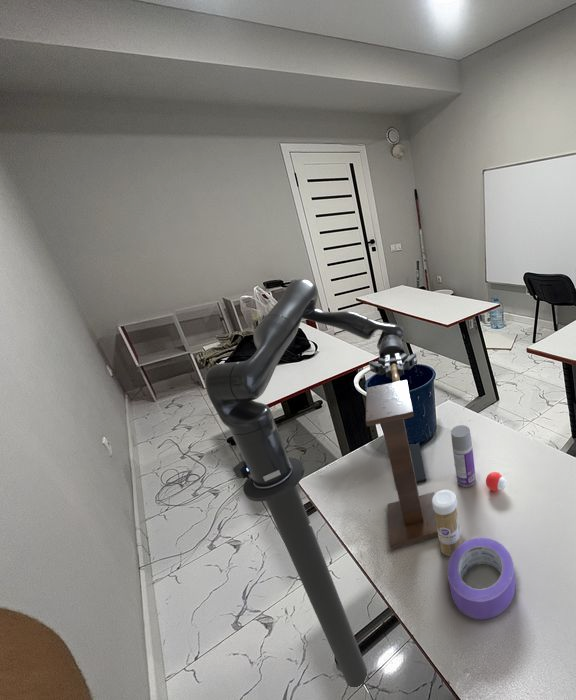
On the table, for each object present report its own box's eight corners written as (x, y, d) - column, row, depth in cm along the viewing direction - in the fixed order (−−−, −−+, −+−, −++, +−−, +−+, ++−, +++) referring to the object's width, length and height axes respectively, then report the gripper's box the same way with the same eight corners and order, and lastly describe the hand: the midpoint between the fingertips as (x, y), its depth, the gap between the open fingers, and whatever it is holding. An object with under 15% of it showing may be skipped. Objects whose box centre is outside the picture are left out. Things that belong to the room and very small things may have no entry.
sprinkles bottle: (440, 558, 70) (431, 509, 65) (440, 537, 74) (432, 489, 69) (463, 555, 70) (456, 506, 65) (462, 535, 75) (455, 487, 69)
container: (472, 471, 91) (467, 423, 85) (478, 484, 87) (473, 434, 81) (455, 475, 90) (448, 427, 84) (459, 489, 86) (453, 439, 80)
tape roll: (438, 581, 66) (434, 563, 64) (485, 543, 72) (484, 525, 70) (478, 636, 57) (475, 618, 55) (528, 588, 64) (528, 569, 62)
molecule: (483, 491, 85) (482, 477, 83) (492, 477, 88) (491, 464, 87) (502, 498, 82) (501, 484, 81) (510, 484, 86) (510, 470, 84)
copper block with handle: (411, 417, 75) (406, 403, 73) (394, 422, 75) (389, 408, 73) (402, 369, 96) (398, 357, 94) (389, 373, 95) (385, 361, 93)
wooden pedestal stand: (443, 537, 74) (421, 409, 61) (390, 552, 72) (356, 423, 59) (434, 494, 85) (414, 378, 72) (388, 506, 83) (358, 389, 70)
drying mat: (394, 447, 103) (394, 445, 102) (418, 441, 104) (418, 440, 104) (398, 487, 88) (398, 485, 88) (426, 480, 90) (425, 478, 89)
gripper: (417, 360, 108) (424, 382, 91) (371, 369, 105) (370, 393, 89) (413, 337, 105) (419, 355, 89) (366, 345, 103) (364, 365, 87)
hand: (395, 374), depth 89 cm, fingers closed on copper block with handle, 2 cm apart
